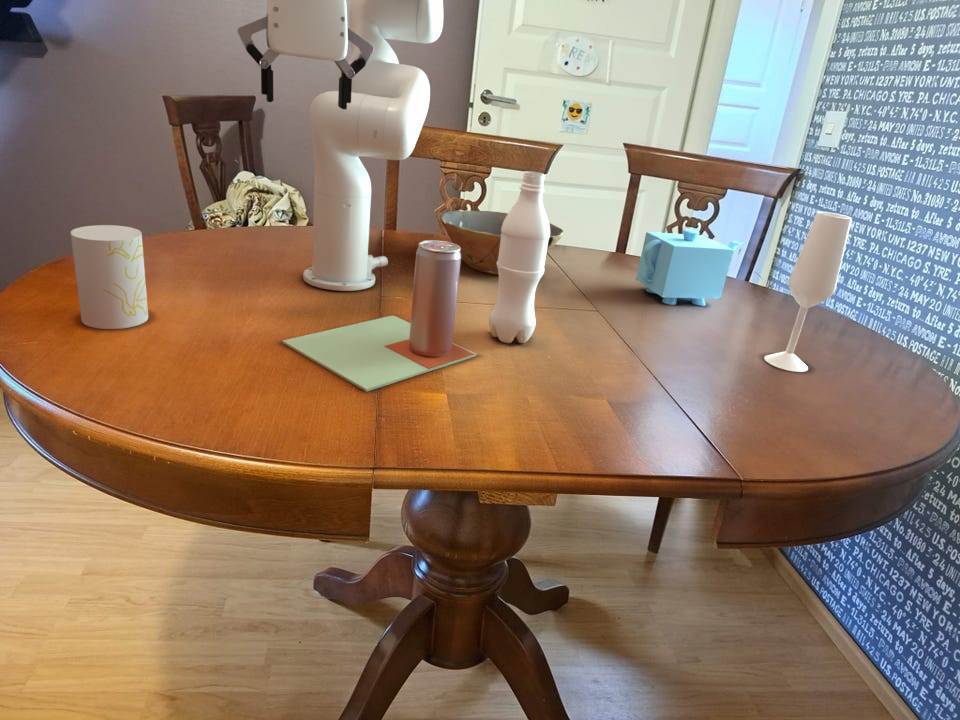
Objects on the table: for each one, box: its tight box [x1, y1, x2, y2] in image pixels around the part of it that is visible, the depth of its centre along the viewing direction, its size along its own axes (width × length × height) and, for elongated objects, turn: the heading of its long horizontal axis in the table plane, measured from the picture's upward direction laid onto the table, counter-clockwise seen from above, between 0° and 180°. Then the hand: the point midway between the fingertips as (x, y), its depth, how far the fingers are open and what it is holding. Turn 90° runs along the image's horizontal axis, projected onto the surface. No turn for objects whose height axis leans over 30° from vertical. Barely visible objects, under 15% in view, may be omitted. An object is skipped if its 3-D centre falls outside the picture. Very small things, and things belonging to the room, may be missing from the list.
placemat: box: [281, 314, 478, 393], centre depth 92 cm, size 20×18×1 cm
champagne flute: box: [763, 211, 853, 373], centre depth 102 cm, size 7×7×24 cm
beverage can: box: [409, 239, 462, 357], centre depth 90 cm, size 6×6×15 cm
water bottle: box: [488, 170, 550, 344], centre depth 98 cm, size 7×7×25 cm
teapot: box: [635, 228, 745, 306], centre depth 133 cm, size 22×11×14 cm, turn 105°
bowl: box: [439, 210, 564, 276], centre depth 136 cm, size 25×25×10 cm
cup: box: [70, 224, 149, 330], centre depth 89 cm, size 8×8×12 cm
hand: (306, 104), depth 90 cm, fingers open, 9 cm apart
